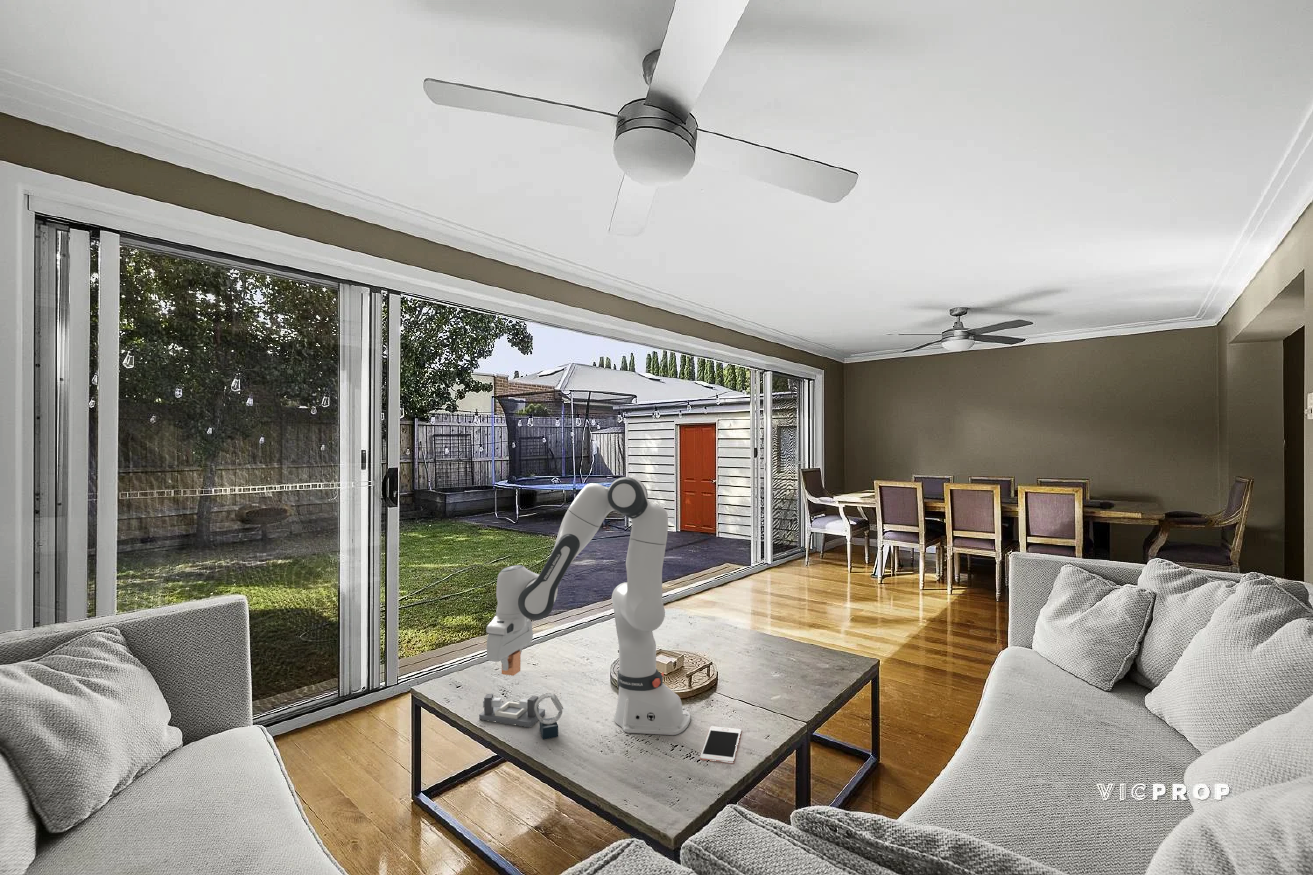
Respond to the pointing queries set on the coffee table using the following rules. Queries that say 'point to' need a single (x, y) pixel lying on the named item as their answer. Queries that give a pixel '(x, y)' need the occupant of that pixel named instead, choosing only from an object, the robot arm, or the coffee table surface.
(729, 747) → the cell phone
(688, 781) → the coffee table surface
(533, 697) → the stand
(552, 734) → the watch
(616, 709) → the robot arm
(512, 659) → the block
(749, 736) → the coffee table surface
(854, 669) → the coffee table surface
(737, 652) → the coffee table surface
